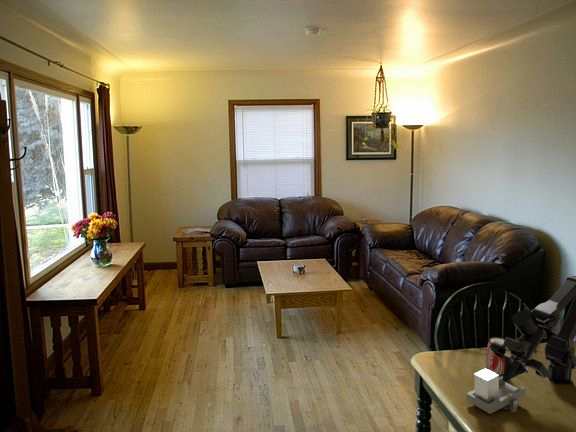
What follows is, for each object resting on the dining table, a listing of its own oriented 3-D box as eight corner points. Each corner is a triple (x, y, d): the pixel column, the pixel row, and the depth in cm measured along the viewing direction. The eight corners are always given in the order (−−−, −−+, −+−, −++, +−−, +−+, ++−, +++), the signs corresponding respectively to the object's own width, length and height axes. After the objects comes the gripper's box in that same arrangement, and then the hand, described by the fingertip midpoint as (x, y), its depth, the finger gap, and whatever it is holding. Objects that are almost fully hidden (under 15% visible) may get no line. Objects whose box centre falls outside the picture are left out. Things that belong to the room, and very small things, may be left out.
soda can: (504, 378, 179) (507, 346, 177) (483, 373, 183) (486, 342, 181) (508, 370, 185) (510, 339, 183) (487, 365, 189) (489, 335, 187)
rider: (485, 393, 163) (485, 368, 161) (498, 400, 159) (498, 375, 157) (474, 399, 161) (474, 373, 159) (487, 406, 157) (487, 380, 155)
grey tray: (501, 382, 170) (501, 375, 169) (525, 395, 162) (525, 388, 162) (466, 400, 162) (466, 393, 162) (490, 414, 155) (490, 406, 154)
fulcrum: (487, 393, 169) (488, 383, 169) (517, 410, 159) (518, 399, 159) (481, 395, 168) (482, 385, 167) (511, 413, 158) (512, 401, 157)
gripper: (494, 319, 171) (469, 356, 167) (545, 339, 154) (519, 381, 151) (508, 336, 176) (484, 373, 172) (559, 357, 160) (533, 398, 156)
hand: (503, 380), depth 163 cm, fingers closed
